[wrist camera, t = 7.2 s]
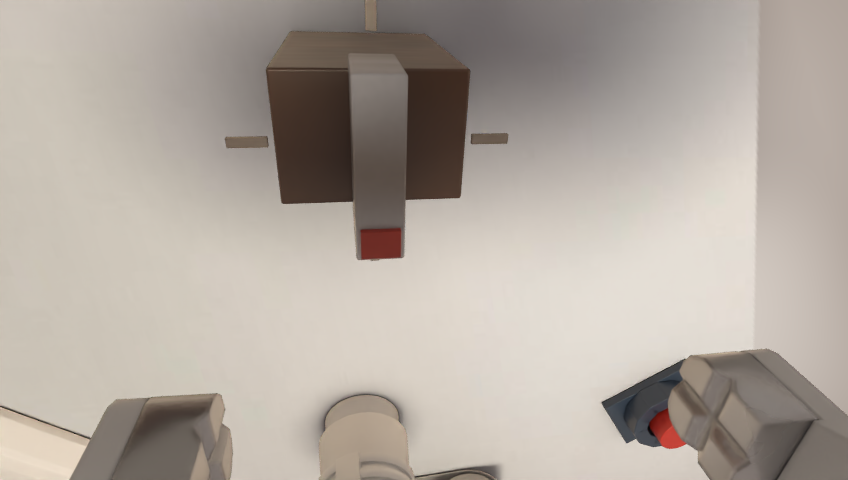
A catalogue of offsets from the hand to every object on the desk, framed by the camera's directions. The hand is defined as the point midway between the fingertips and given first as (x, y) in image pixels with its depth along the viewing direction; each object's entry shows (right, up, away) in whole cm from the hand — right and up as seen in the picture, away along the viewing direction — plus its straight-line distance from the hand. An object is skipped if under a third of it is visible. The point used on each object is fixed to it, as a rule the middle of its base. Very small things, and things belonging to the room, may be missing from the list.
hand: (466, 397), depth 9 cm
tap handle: (-3, +6, +9) cm, 12 cm away
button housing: (+20, -12, +35) cm, 42 cm away
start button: (+20, -13, +33) cm, 41 cm away
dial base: (-4, +11, +18) cm, 22 cm away
